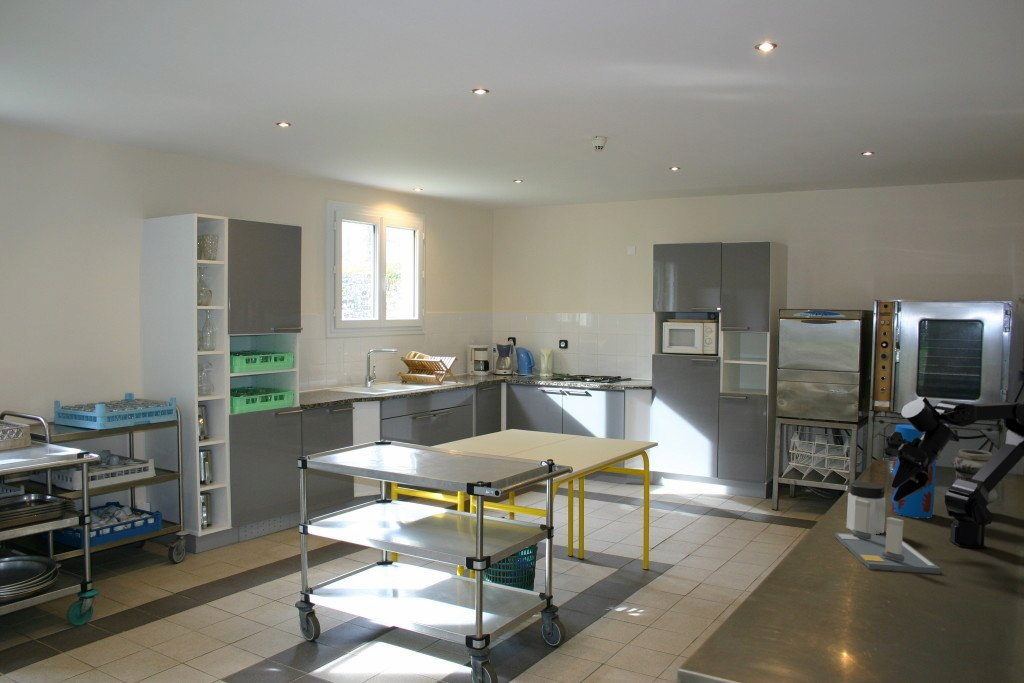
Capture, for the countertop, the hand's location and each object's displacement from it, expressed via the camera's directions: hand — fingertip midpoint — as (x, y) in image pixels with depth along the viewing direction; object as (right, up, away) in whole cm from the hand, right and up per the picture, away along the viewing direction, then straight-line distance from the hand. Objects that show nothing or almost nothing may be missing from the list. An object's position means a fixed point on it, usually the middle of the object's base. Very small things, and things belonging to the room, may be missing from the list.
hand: (894, 494), depth 189 cm
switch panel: (-4, -13, -3) cm, 15 cm away
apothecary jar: (+42, -13, +41) cm, 60 cm away
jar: (+1, -13, +17) cm, 22 cm away
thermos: (+23, -13, +37) cm, 45 cm away
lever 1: (-6, -11, +5) cm, 13 cm away
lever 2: (-6, -12, -12) cm, 18 cm away
